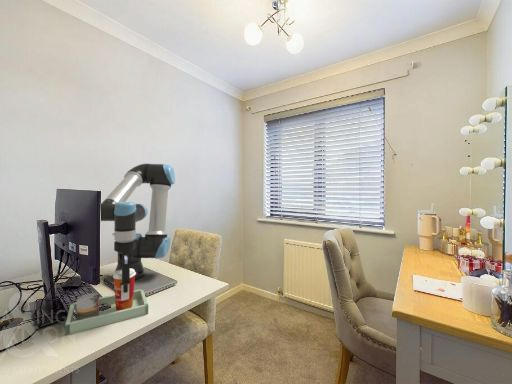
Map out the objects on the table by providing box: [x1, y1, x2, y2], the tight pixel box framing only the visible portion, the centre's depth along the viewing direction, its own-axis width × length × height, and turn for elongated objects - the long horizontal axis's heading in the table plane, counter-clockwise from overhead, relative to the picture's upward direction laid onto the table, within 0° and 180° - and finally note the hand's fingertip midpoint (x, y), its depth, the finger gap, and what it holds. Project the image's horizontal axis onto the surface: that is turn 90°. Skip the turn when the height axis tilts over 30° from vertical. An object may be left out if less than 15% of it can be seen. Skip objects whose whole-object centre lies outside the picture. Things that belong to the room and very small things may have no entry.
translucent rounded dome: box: [76, 292, 100, 321], centre depth 89 cm, size 7×7×8 cm
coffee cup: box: [112, 268, 136, 311], centre depth 95 cm, size 8×8×15 cm
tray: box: [64, 288, 149, 336], centre depth 93 cm, size 16×26×4 cm, turn 123°
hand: (124, 294), depth 95 cm, fingers closed on coffee cup, 8 cm apart
